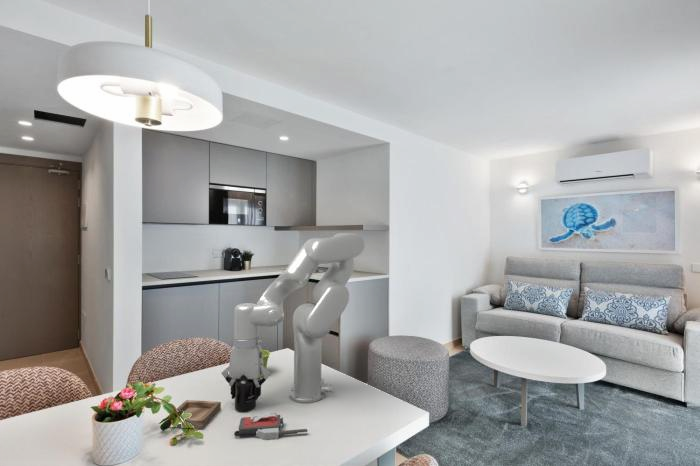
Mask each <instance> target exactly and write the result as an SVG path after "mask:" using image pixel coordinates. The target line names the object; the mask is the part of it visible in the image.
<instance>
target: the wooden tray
mask: <svg viewBox="0 0 700 466" xmlns="http://www.w3.org/2000/svg"><path fill="white" fill-rule="evenodd" d="M221 403H222V402H221V401H212V400H211V401H210V400H195V399H194V400H193V399H191V400H190V399H187V400H185V401H183V402H182V404H179V406H178V407H177V408H175V410H177V411H180V410H183V411H184V414H185V413H191V414H192V416H191V417H190V418H187V419H185V421H186V422H188V423H191V424H192V425H193V426H194V428H195V429H194V430H201V431H203V430H204V429H205V428H206V427H207V425H208V424H210V422H211V421H212V420H213V419H214V418H215V417H216V415H218V414H219V412H220V411H221V410H222V407H221V406H222V404H221ZM168 416H169V415H167V416H166V417H165V418H164V420H165V419H166V418H167V417H168ZM175 429H182V428H181V424H178V425H177V427H176V428H175Z"/></svg>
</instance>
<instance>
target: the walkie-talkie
mask: <svg viewBox="0 0 700 466" xmlns="http://www.w3.org/2000/svg"><path fill="white" fill-rule="evenodd" d="M283 426H284V418H283V417H281V414H277V413H275V412H267V413H261V414H259V415H257V416H254V415H251V416H248V417H247V416H244V417H241V418H240V421H239V425H238V430H235V431H234V432H233V433H234V434H233V436H234V437H238V438H243V439H244V438H251V437H252V438H253V437H256V438H258V439H260V440H274V439H276V440H279V437H280V436H281V437H282V436H284V435H285V436H287V435H296V434H298V433H307V432H308V429H307V428H300V429H299V428H297V429H288V430H283V428H282V427H283Z"/></svg>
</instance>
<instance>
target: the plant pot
mask: <svg viewBox="0 0 700 466" xmlns="http://www.w3.org/2000/svg"><path fill="white" fill-rule="evenodd" d="M262 355H263V367H264V368H265V369H267V368H268V367H267V365H268V361H269V360H268V359H269V358H270V357H269V356H270V355H271V352H270V351H269V350H267V349H266V350H265V349H262ZM260 377H261V378H263V377H264V374H263V373H262V374H260Z"/></svg>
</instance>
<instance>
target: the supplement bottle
mask: <svg viewBox="0 0 700 466" xmlns="http://www.w3.org/2000/svg"><path fill="white" fill-rule="evenodd" d="M240 378H241V379H237V380H236V382H235V398H234V410H235V411H237V412H240V413H246V412H247V413H248V412H250V411H253V410H254V409H255V408H256V407H257V400H255V399H254V388H255V387H256V385H255V383H254V381H253V379H248V378H247V377H246V376H245V374H244V375H241V377H240Z"/></svg>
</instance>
